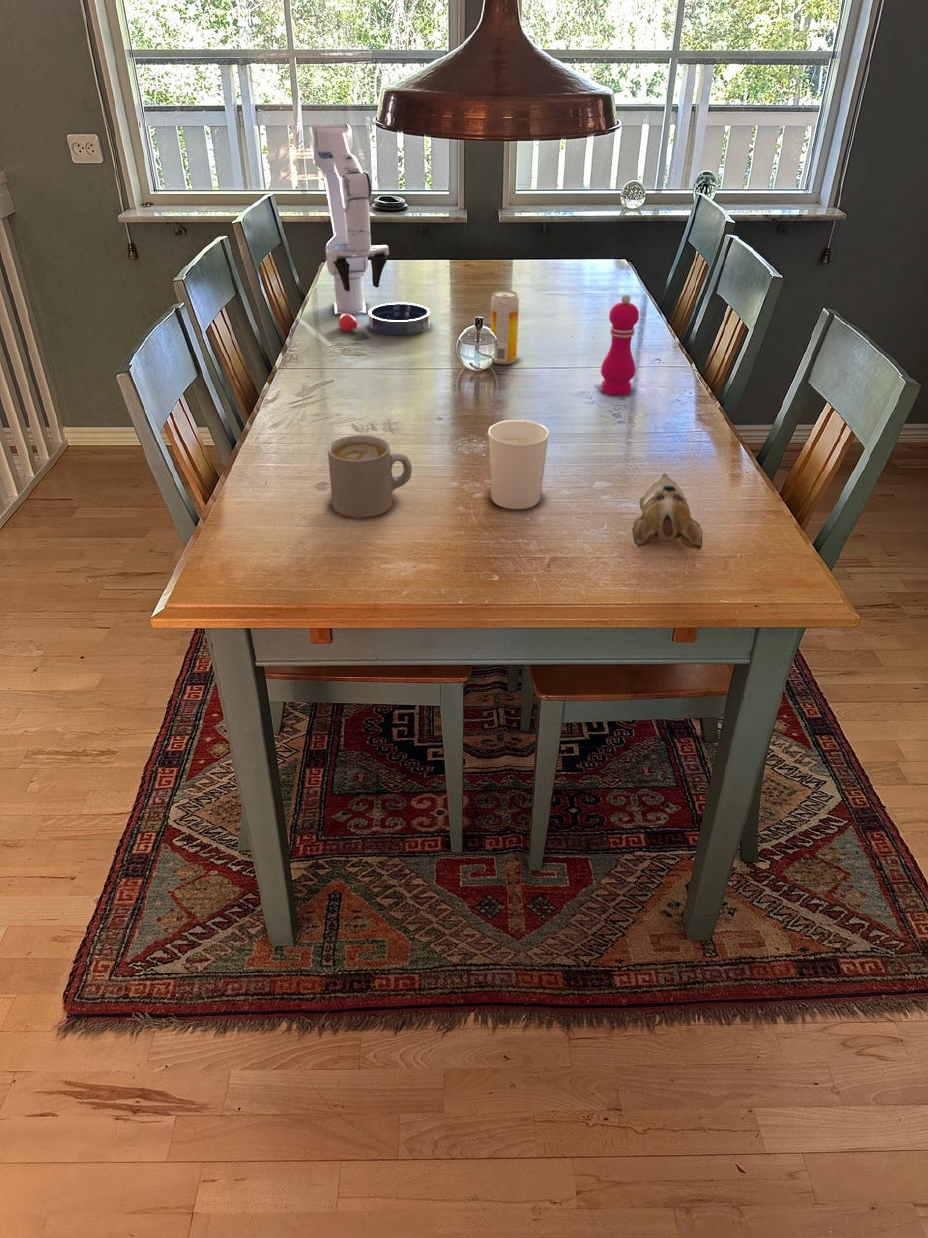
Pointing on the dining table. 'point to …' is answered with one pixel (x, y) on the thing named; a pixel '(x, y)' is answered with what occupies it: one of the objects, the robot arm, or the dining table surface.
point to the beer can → (505, 324)
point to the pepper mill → (620, 349)
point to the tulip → (348, 324)
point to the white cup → (517, 462)
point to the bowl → (399, 319)
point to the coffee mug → (364, 475)
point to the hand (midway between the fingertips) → (361, 288)
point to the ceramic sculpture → (666, 516)
